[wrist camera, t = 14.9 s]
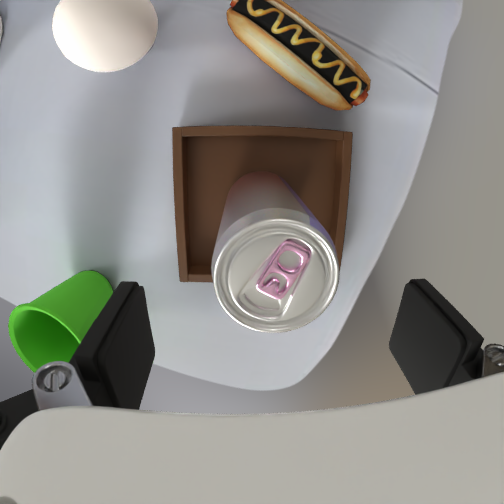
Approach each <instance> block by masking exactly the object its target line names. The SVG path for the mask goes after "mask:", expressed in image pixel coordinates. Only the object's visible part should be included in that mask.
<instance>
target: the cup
mask: <svg viewBox="0 0 504 504" xmlns="http://www.w3.org/2000/svg"><path fill="white" fill-rule="evenodd" d="M112 294H113V290H112V287H111V285H110V283H109V282H108V280H107V279H106V278H105V277H104V276H103V275H101V274H100V273H98V272H95V271H82V272H79V273H78V274H76V275H74V276H73V277H71V278H69V279H68V280H66V281H64V282H63V283H61V284H59V285H58V286H56V287H54V288H53V289H51V290H50V291H48V292H46V293H45V294H43V295H41V296H40V297H38V298H37V299H35V300H34V301H32V302H30V303H26V304H21V305H19V306H17V307H16V308H15V309H14V310H13V311H12V313H11V315H10V318H9V325H8V327H9V335H10V338H11V341H12V344H13V346H14V348H15V350H16V352H17V353H18V355H19V356H20V357H21V359H22V360H23V362H24V363H25V364H26V365H27V366H28V367H29V368H30V369H31V370H32V371H33V372H36V371H37V370H38V369H39V368H40V367H41V366H43V365H45V364H47V363H49V362H54V361H64V362H68V363H69V361H70V359H71V358H72V356H73V354H74V353H75V351H76V349H77V348H78V346H79V344H80V343H81V341H82V340H83V338H84V336H85V335H86V333H87V331H88V330H89V328H90V327H91V325H92V324H93V322H94V320H95V319H96V318H97V317H98V315H99V314H100V312H101V311H102V309H103V308H104V306H105V304H106V303H107V301H108V300H109V298H110V297H111V295H112Z"/></svg>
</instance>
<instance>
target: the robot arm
mask: <svg viewBox="0 0 504 504" xmlns="http://www.w3.org/2000/svg"><path fill="white" fill-rule="evenodd" d="M1 37H2V19H1V16H0V42H1ZM483 340H484V338H483V337H482V336H481V335H480V334H479V333H478V332H477V331H476V329H475V328H473V326H472V325H471V324H470V323H469V322H468V321H467V320H466V319H465V318H464V317H463V316H462V315H461V314H460V313H459V312H458V311H457V310H456V309H455V308H454V307H453V306H452V305H451V304H450V303H449V302H448V300H446V299H445V298H444V297H443V296H442V295H441V294H440V293H439V292H438V291H437V290H436V289H435V288H434V287H433V286H432V285H431V284H430V283H429V282H428V281H427V280H426V279H412V280H410V282H409V283H407V284H406V285H405V288H404V292H403V296H402V300H401V303H400V307H399V311H398V314H397V318H396V321H395V325H394V328H393V332H392V335H391V338H390V342H389V348H390V350H391V353H392V354H393V356H394V358H395V359H396V361H397V363H398V365H399V366H400V368H401V370H402V371H403V373H404V375H405V377H406V378H407V380H408V382H409V384H410V385H411V387H412V389H413V391H414V393H415V395H412V396H407V397H402V398H397V399H392V400H387V401H381V402H375V403H369V404H362V405H356V406H349V407H341V408H333V409H323V410H313V411H303V412H287V413H269V414H195V413H175V412H161V411H148V410H139V407H140V404H141V400H142V397H143V394H144V390H145V387H146V383H147V380H148V377H149V373H150V370H151V367H152V364H153V360H154V357H155V347H154V342H153V337H152V332H151V327H150V321H149V316H148V310H147V304H146V298H145V292H144V288H143V286H139V284H138V283H137V282H124V281H121V282H120V284H119V285H118V286H117V288H116V289H115V291H114V292H113V294H112V295H111V297H110V298H109V300H108V301H107V303H106V304H105V306H104V308H103V309H102V311H101V312H100V314H99V315H98V317H97V318H96V319H95V320H94V322H93V324H92V325H91V327H90V328H89V330H88V331H87V333H86V335H85V336H84V338H83V340H82V341H81V343H80V344H79V346H78V348H77V349H76V351H75V353H74V354H73V356H72V358H71V359H70V361H69V363H68V362H64V361H54V362H49V363H47V364H45V365H43V366H41V367H40V368H39V369H38V370H37V371H36V372H35V374H34V375H33V378H32V388H33V389H32V390H29V391H27V392H24V393H22V394H19V395H17V396H15V397H12V398H10V399H7V400H5V401H2V402H0V504H504V346H502V345H499V344H489V345H487V346H486V347H485V348H484V350H482V349H481V345H482V343H483Z"/></svg>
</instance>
